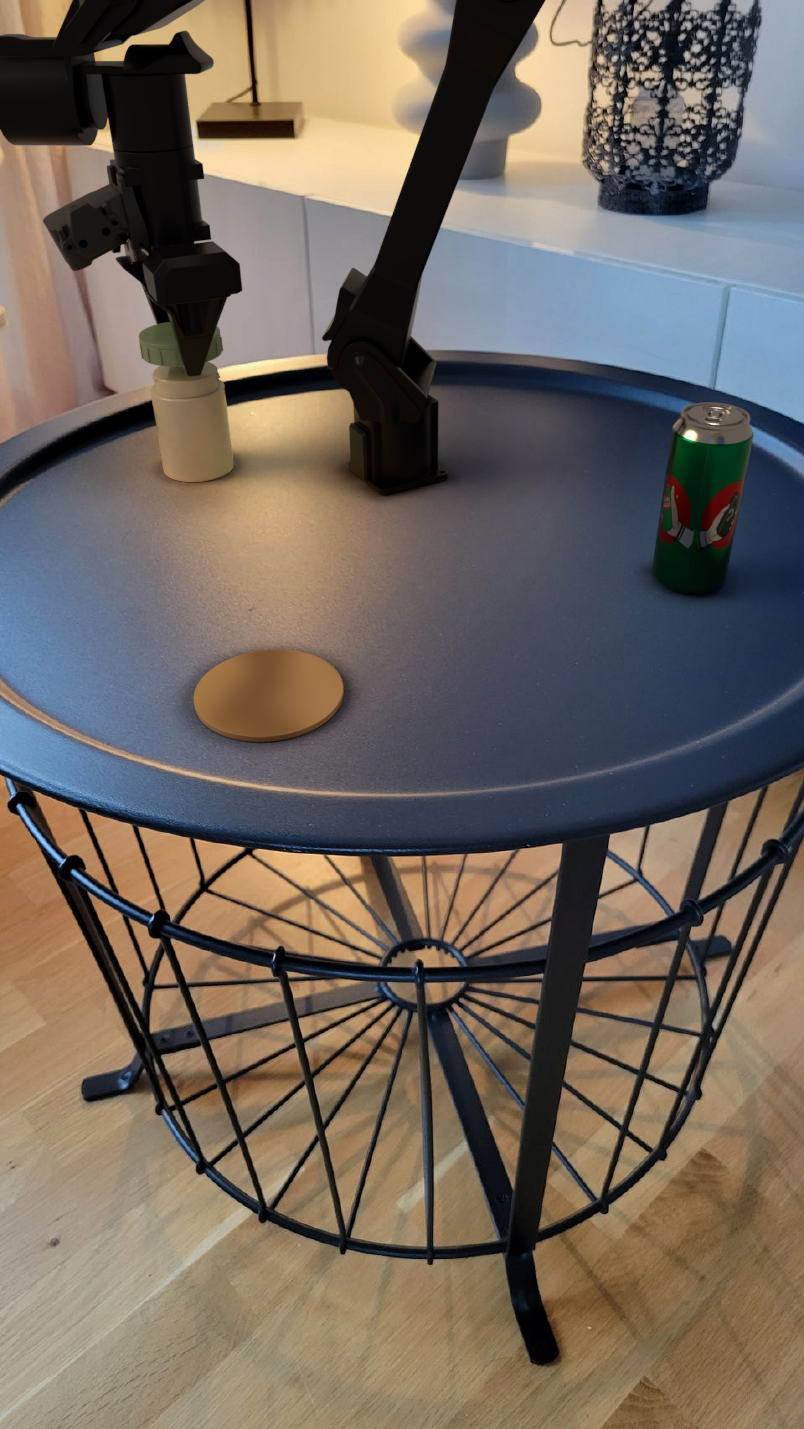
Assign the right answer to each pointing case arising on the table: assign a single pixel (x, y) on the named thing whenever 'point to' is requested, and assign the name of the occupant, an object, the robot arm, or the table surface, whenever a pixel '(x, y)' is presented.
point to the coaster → (268, 695)
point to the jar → (192, 423)
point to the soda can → (701, 496)
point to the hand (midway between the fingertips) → (183, 362)
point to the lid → (170, 346)
